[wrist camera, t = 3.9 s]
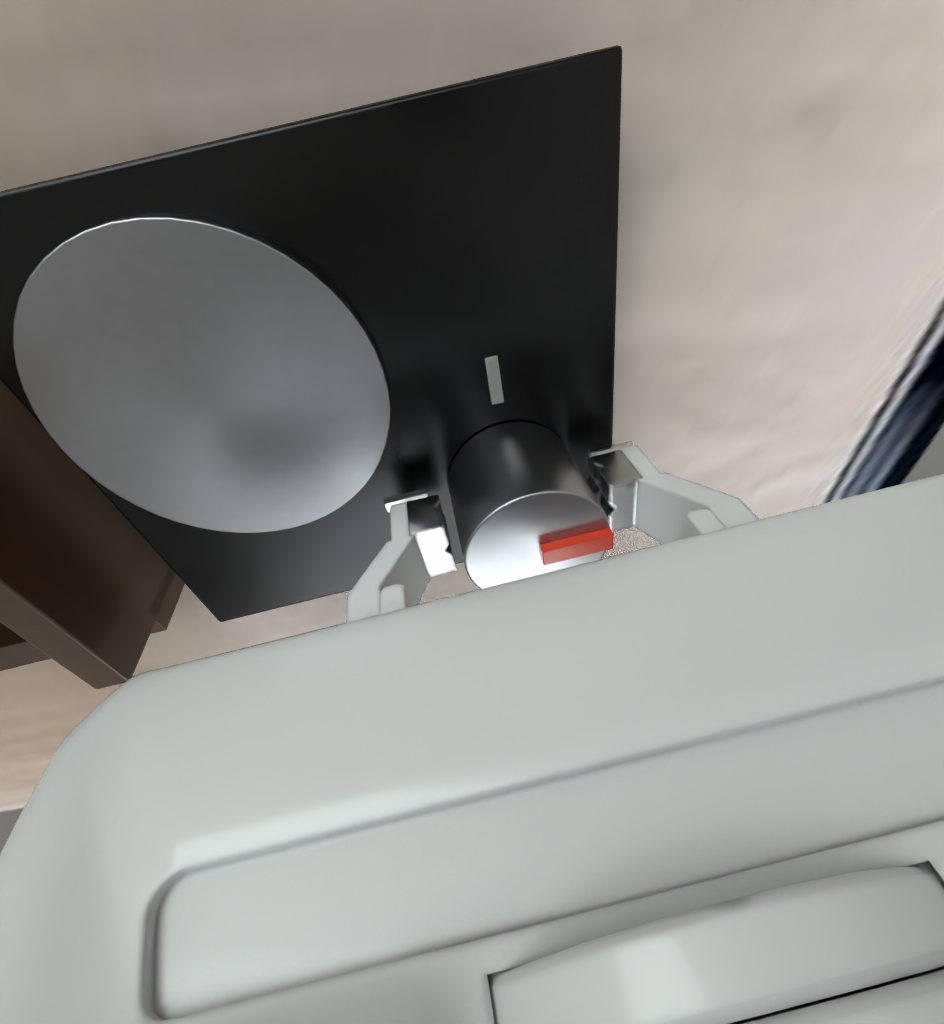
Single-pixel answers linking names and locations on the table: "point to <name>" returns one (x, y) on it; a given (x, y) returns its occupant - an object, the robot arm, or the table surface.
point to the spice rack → (71, 563)
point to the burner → (202, 373)
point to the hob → (395, 285)
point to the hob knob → (523, 506)
